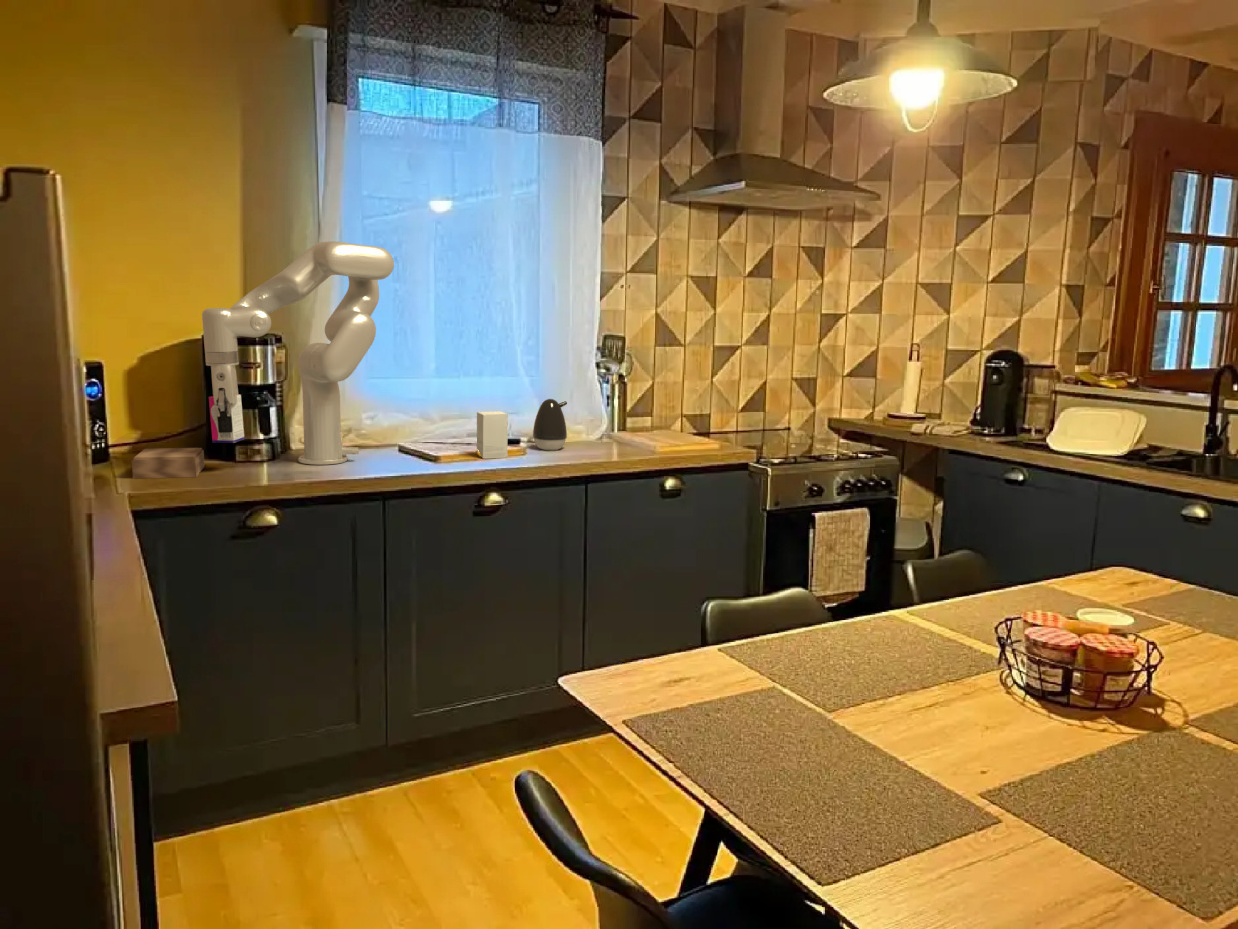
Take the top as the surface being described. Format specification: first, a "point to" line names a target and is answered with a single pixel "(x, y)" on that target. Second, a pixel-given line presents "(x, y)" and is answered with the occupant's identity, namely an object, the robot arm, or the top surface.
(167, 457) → the block
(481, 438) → the supplement box
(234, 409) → the supplement box
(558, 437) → the pump dispenser
